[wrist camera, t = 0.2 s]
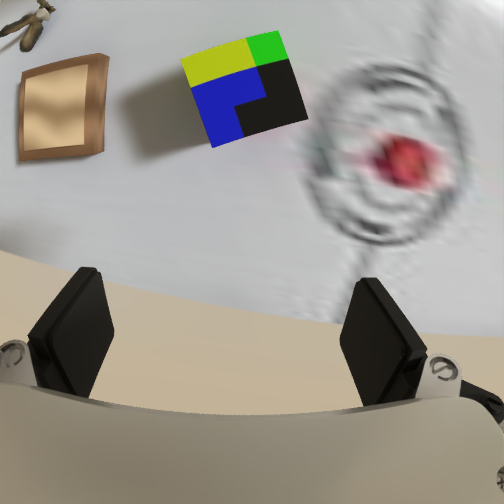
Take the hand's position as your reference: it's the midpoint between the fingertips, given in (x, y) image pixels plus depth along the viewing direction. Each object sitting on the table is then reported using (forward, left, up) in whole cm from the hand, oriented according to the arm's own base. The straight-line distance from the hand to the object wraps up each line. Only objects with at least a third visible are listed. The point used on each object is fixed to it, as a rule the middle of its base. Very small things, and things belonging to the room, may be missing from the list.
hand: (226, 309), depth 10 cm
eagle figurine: (-25, -34, -31) cm, 52 cm away
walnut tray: (-9, -26, -31) cm, 41 cm away
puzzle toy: (-10, 0, -31) cm, 33 cm away
